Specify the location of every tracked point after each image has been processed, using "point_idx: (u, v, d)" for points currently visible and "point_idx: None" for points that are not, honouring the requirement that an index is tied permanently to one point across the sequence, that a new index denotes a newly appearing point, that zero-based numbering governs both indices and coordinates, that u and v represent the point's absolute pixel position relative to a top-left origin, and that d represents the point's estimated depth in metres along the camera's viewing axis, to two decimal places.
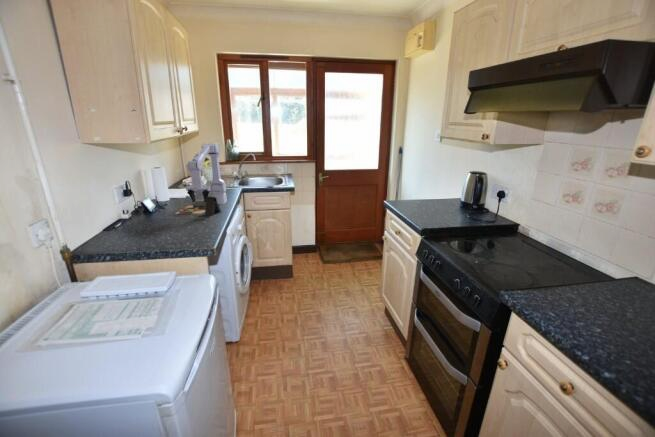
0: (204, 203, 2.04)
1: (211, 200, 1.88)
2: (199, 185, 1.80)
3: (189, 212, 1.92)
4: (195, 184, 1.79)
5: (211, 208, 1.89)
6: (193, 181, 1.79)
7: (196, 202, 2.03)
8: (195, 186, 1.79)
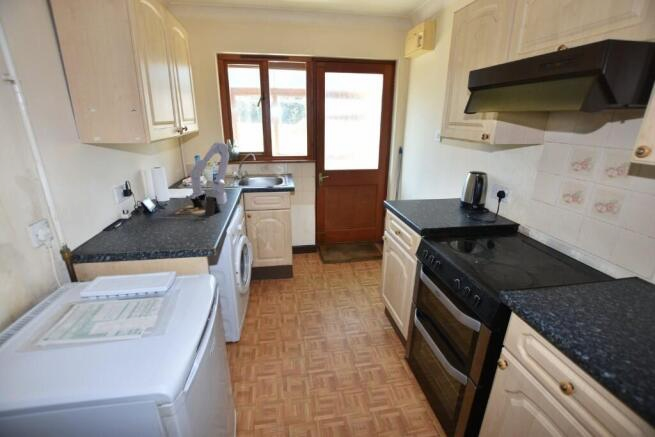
0: (204, 203, 2.04)
1: (211, 200, 1.88)
2: (193, 191, 2.00)
3: (189, 212, 1.92)
4: None
5: (211, 208, 1.88)
6: None
7: None
8: None
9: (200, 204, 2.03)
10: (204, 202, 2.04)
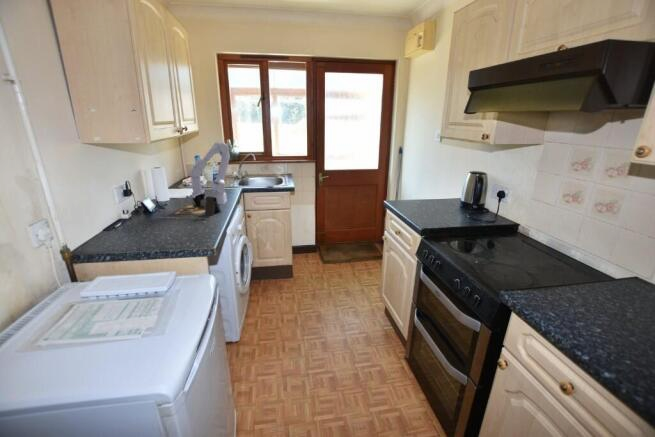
0: (204, 202, 2.04)
1: (211, 200, 1.88)
2: (193, 190, 2.00)
3: (189, 212, 1.92)
4: None
5: (211, 208, 1.88)
6: None
7: None
8: None
9: (200, 203, 2.03)
10: (204, 201, 2.04)
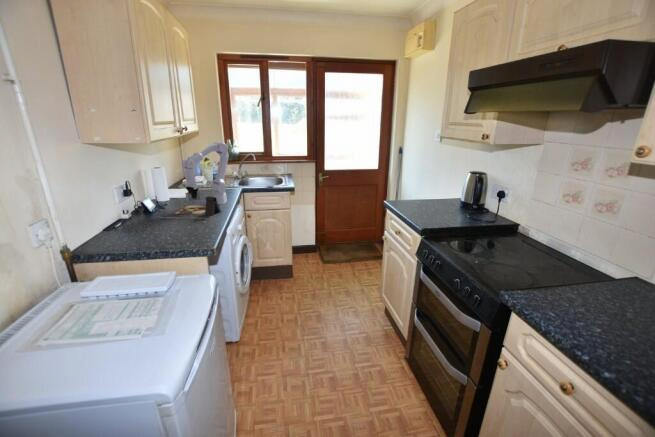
0: None
1: (211, 200, 1.88)
2: (189, 182, 1.93)
3: (189, 212, 1.92)
4: (186, 181, 1.93)
5: (211, 208, 1.88)
6: None
7: (191, 194, 1.96)
8: (186, 183, 1.93)
9: None
10: None
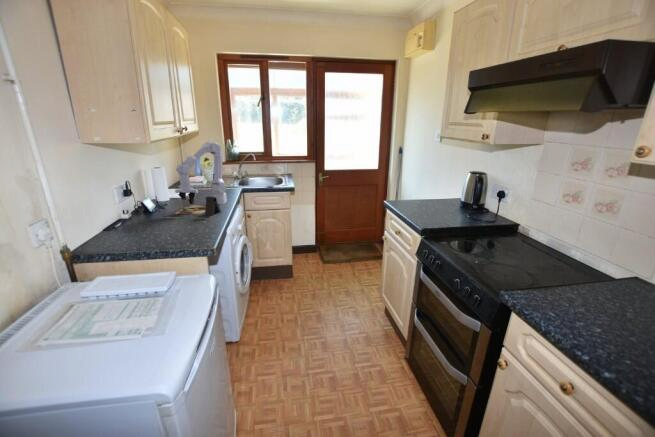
0: None
1: (211, 200, 1.88)
2: (187, 188, 1.90)
3: (189, 212, 1.92)
4: (183, 187, 1.89)
5: (211, 208, 1.88)
6: (182, 184, 1.89)
7: None
8: (184, 188, 1.89)
9: None
10: None
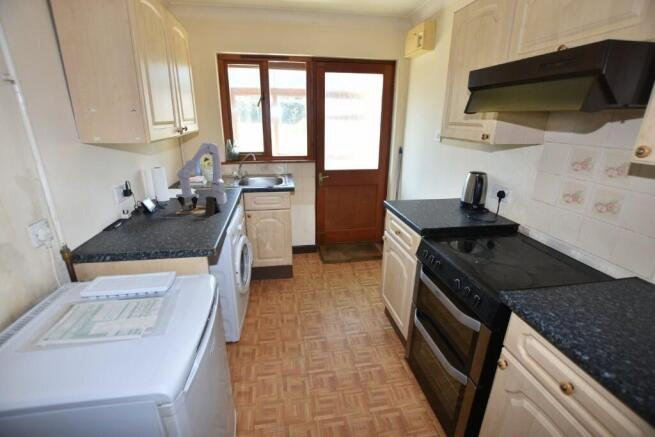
0: None
1: (211, 200, 1.88)
2: (188, 192, 1.91)
3: (189, 212, 1.92)
4: (184, 191, 1.90)
5: (211, 208, 1.88)
6: (182, 189, 1.90)
7: (190, 205, 1.95)
8: (184, 193, 1.91)
9: None
10: None
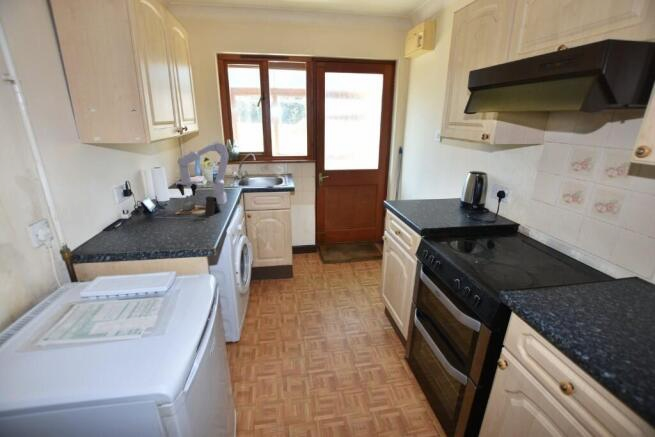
0: None
1: (211, 200, 1.88)
2: (187, 180, 1.96)
3: (189, 212, 1.92)
4: (184, 179, 1.95)
5: (211, 208, 1.88)
6: (182, 176, 1.95)
7: (190, 205, 1.95)
8: (184, 180, 1.96)
9: (193, 206, 1.98)
10: None
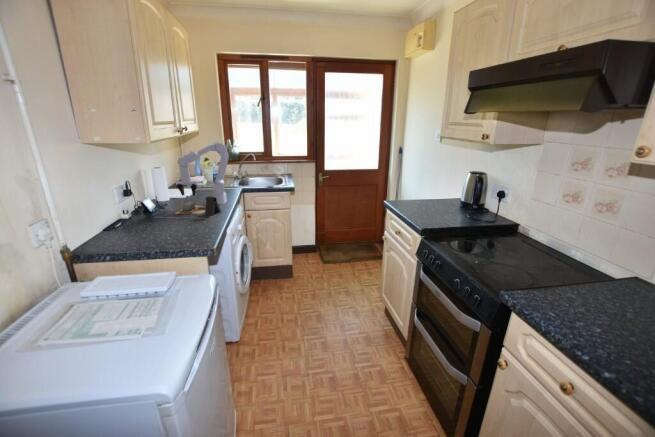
0: None
1: (211, 200, 1.88)
2: (187, 180, 1.96)
3: (189, 212, 1.92)
4: (184, 179, 1.95)
5: (211, 208, 1.88)
6: (182, 176, 1.95)
7: (190, 205, 1.95)
8: (184, 180, 1.96)
9: (193, 206, 1.98)
10: None
